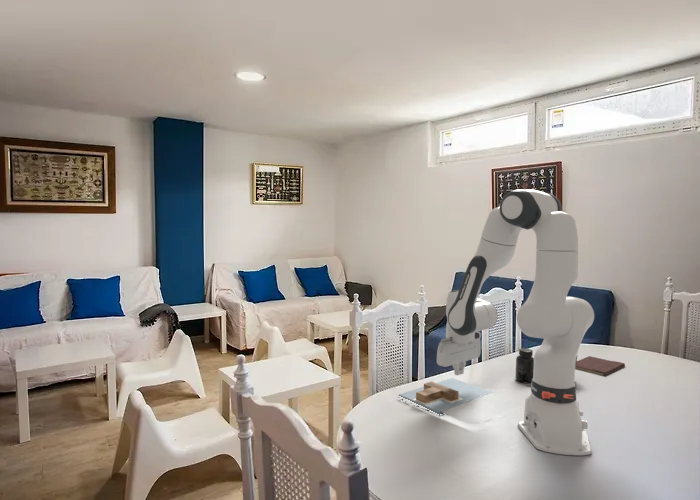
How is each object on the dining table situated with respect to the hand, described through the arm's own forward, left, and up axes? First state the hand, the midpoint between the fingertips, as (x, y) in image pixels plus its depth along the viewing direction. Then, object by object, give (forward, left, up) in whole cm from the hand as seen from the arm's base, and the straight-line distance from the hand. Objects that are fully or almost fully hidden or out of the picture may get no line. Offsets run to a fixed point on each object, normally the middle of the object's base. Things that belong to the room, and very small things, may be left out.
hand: (459, 374), depth 163 cm
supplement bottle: (+20, -26, -8) cm, 34 cm away
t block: (-8, +9, -6) cm, 13 cm away
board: (-4, +4, -7) cm, 9 cm away
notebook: (+45, -59, -8) cm, 75 cm away
